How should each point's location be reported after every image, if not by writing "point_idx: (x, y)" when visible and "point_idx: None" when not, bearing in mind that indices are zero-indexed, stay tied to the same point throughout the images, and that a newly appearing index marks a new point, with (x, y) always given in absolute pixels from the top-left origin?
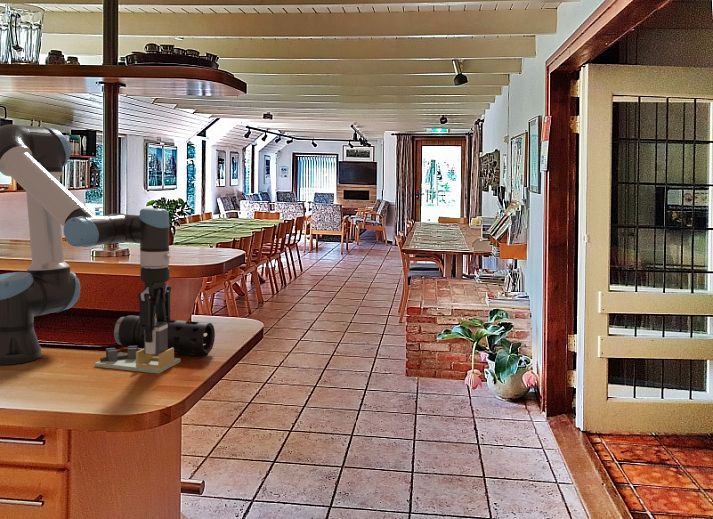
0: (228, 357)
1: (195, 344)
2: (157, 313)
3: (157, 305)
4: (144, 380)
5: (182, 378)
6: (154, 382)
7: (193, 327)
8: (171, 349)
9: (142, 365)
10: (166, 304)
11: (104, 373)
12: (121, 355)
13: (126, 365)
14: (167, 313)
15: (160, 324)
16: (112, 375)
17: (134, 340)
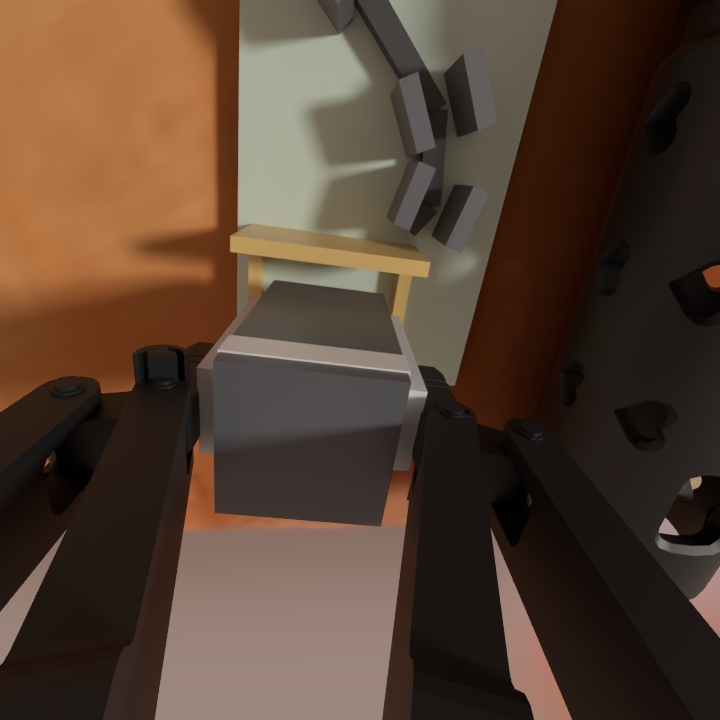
0: None
1: None
2: (415, 504)
3: (400, 640)
4: (119, 332)
5: (212, 461)
6: (113, 383)
7: None
8: None
9: (249, 268)
10: (571, 672)
11: (131, 48)
12: (401, 30)
13: (255, 154)
14: (507, 556)
15: (273, 505)
16: (118, 126)
17: (690, 5)
